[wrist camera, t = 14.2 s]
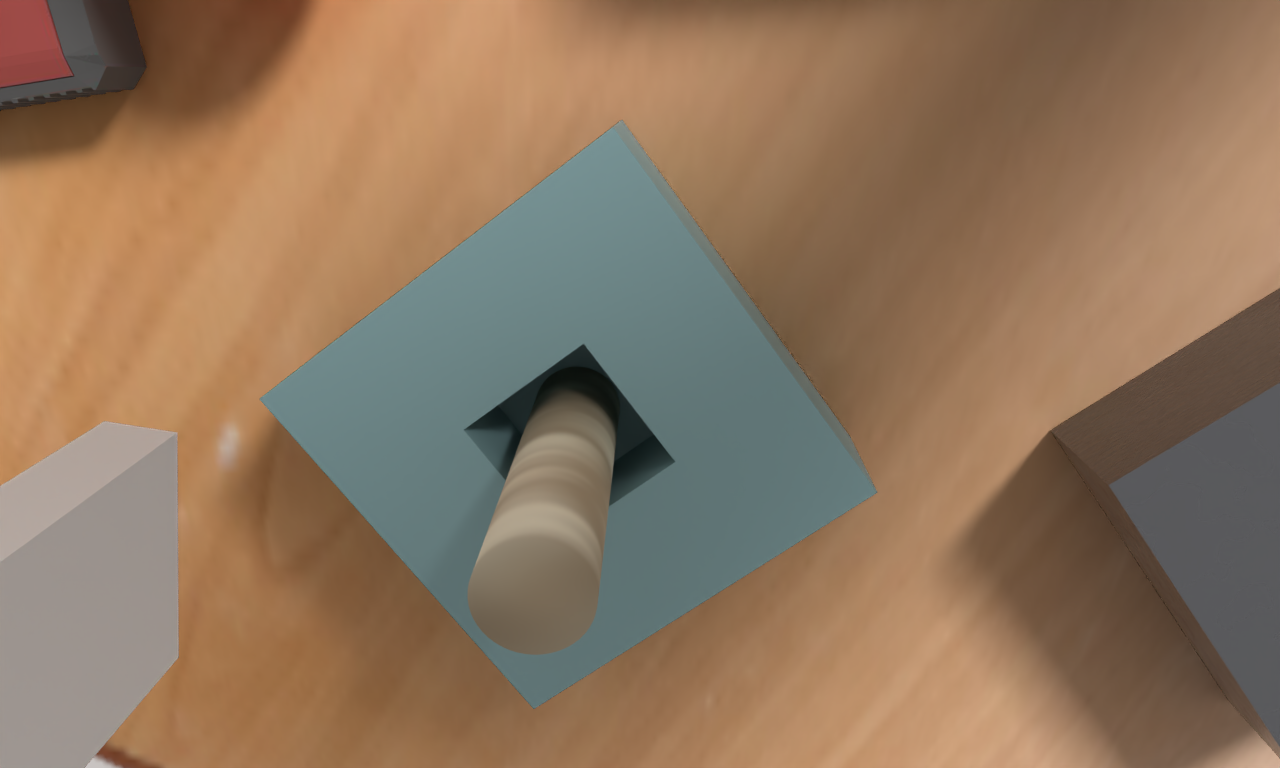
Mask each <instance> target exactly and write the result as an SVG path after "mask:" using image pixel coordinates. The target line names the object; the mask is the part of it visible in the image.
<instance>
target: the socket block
mask: <svg viewBox="0 0 1280 768" xmlns="http://www.w3.org/2000/svg"><path fill="white" fill-rule="evenodd" d="M568 367H585V368H589V369H592V370H595V371H597V372H599V373H600V374H602V375H603V376H605V377H606V378H607V379H608V380H609V381H610V382H611V384H612V385H613V386H614V388H615V390H616V392H617V394H618V397H619V402H620V413H619V422H618V431H617V439H616V448H615V457H614V465H613V474H612V483H611V492H610V500H609V509H608V518H607V526H606V535H605V544H604V553H603V561H602V570H601V579H600V587H599V596H598V605H597V610H596V615H595V617H594V620H593V622H592V624H591V626H590V628H589V629H588V630H587V632H586V633H585V634H584V635H583V636H582V637H581V638H580V639H579V640H578V641H576V642H575V643H574V644H572V645H570V646H569V647H567V648H565V649H562V650H560V651H557V652H553V653H549V654H541V655H531V654H523V653H518V652H514V651H511V650H508V649H506V648H504V647H502V646H500V645H498V644H496V643H495V642H493V641H492V640H491V639H489V638H488V637H487V636H486V635H485V634H484V633H483V632H482V631H481V630H480V628H479V627H478V626H477V624H476V622H475V621H474V619H473V617H472V615H471V612H470V609H469V605H468V585H469V581H470V578H471V575H472V572H473V569H474V567H475V564H476V561H477V558H478V556H479V553H480V550H481V547H482V545H483V542H484V539H485V536H486V534H487V531H488V528H489V525H490V523H491V520H492V517H493V514H494V512H495V509H496V506H497V503H498V501H499V498H500V495H501V492H502V490H503V487H504V484H505V482H506V479H507V476H508V473H509V471H510V468H511V465H512V462H513V460H514V457H515V454H516V451H517V449H518V446H519V443H520V440H521V438H522V435H523V432H524V429H525V427H526V424H527V421H528V418H529V416H530V413H531V410H532V407H533V405H534V402H535V399H536V396H537V394H538V391H539V389H540V387H541V385H542V384H543V382H544V381H545V380H546V379H547V378H548V377H549V376H550V375H552V374H553V373H555V372H557V371H559V370H561V369H564V368H568ZM260 400H261V401H262V403H263V404H264V405H265V406H266V407H267V408H268V409H269V411H270V412H271V413H272V414H273V415H274V416H275V417H276V418H277V420H278V421H279V422H280V423H281V424H282V425H283V426H284V427H285V429H286V430H287V431H288V432H289V433H290V434H291V435H292V437H293V438H294V439H295V440H296V441H297V442H298V443H299V444H300V446H301V447H302V448H303V449H304V450H305V451H306V452H307V453H308V455H309V456H310V457H311V458H312V459H313V460H314V461H315V463H316V464H317V465H318V466H319V467H320V468H321V469H322V470H323V472H324V473H325V474H326V475H327V476H328V477H329V478H330V479H331V481H332V482H333V483H334V484H335V485H336V486H337V487H338V488H339V490H340V491H341V492H342V493H343V494H344V495H345V496H346V498H347V499H348V500H349V501H350V502H351V503H352V504H353V505H354V507H355V508H356V509H357V510H358V511H359V512H360V513H361V514H362V516H363V517H364V518H365V519H366V520H367V521H368V522H369V524H370V525H371V526H372V527H373V528H374V529H375V530H376V531H377V533H378V534H379V535H380V536H381V537H382V538H383V539H384V540H385V542H386V543H387V544H388V545H389V546H390V547H391V548H392V549H393V551H394V552H395V553H396V554H397V555H398V556H399V557H400V559H401V560H402V561H403V562H404V563H405V564H406V565H407V566H408V568H409V569H410V570H411V571H412V572H413V573H414V574H415V575H416V577H417V578H418V579H419V580H420V581H421V582H422V583H423V585H424V586H425V587H426V588H427V589H428V590H429V591H430V592H431V594H432V595H433V596H434V597H435V598H436V599H437V600H438V601H439V603H440V604H441V605H442V606H443V607H444V608H445V609H446V611H447V612H448V613H449V614H450V615H451V616H452V617H453V618H454V620H455V621H456V622H457V623H458V624H459V625H460V626H461V627H462V629H463V630H464V631H465V632H466V633H467V634H468V635H469V636H470V638H471V639H472V640H473V641H474V642H475V643H476V644H477V646H478V647H479V648H480V649H481V650H482V651H483V652H484V653H485V655H486V656H487V657H488V658H489V659H490V660H491V661H492V662H493V664H494V665H495V666H496V667H497V668H498V669H499V670H500V672H501V673H502V674H503V675H504V676H505V677H506V678H507V679H508V681H509V682H510V683H511V684H512V685H513V686H514V687H515V688H516V690H517V691H518V692H519V693H520V694H521V695H522V696H523V697H524V699H525V700H526V701H527V702H528V703H529V704H530V705H531V707H532V708H533V709H535V708H536V707H538V706H540V705H541V704H543V703H544V702H546V701H547V700H549V699H551V698H552V697H554V696H555V695H557V694H559V693H560V692H562V691H563V690H565V689H567V688H568V687H570V686H571V685H573V684H574V683H576V682H578V681H579V680H581V679H582V678H584V677H586V676H587V675H589V674H590V673H592V672H593V671H595V670H597V669H598V668H600V667H601V666H603V665H605V664H606V663H608V662H609V661H611V660H613V659H614V658H616V657H617V656H619V655H620V654H622V653H624V652H625V651H627V650H628V649H630V648H632V647H633V646H635V645H636V644H638V643H639V642H641V641H643V640H644V639H646V638H647V637H649V636H651V635H652V634H654V633H655V632H657V631H659V630H660V629H662V628H663V627H665V626H666V625H668V624H670V623H671V622H673V621H674V620H676V619H678V618H679V617H681V616H682V615H684V614H685V613H687V612H689V611H690V610H692V609H693V608H695V607H697V606H698V605H700V604H701V603H703V602H705V601H706V600H708V599H709V598H711V597H712V596H714V595H716V594H717V593H719V592H720V591H722V590H724V589H725V588H727V587H728V586H730V585H731V584H733V583H735V582H736V581H738V580H739V579H741V578H743V577H744V576H746V575H747V574H749V573H751V572H752V571H754V570H755V569H757V568H758V567H760V566H762V565H763V564H765V563H766V562H768V561H770V560H771V559H773V558H774V557H776V556H777V555H779V554H781V553H782V552H784V551H785V550H787V549H789V548H790V547H792V546H793V545H795V544H797V543H798V542H800V541H801V540H803V539H804V538H806V537H808V536H809V535H811V534H812V533H814V532H816V531H817V530H819V529H820V528H822V527H823V526H825V525H827V524H828V523H830V522H831V521H833V520H835V519H836V518H838V517H839V516H841V515H843V514H844V513H846V512H847V511H849V510H850V509H852V508H854V507H855V506H857V505H858V504H860V503H862V502H863V501H865V500H866V499H868V498H869V497H871V496H873V495H874V494H876V493H877V491H876V489H875V486H874V484H873V482H872V480H871V478H870V476H869V474H868V472H867V470H866V468H865V466H864V464H863V462H862V460H861V458H860V456H859V454H858V452H857V450H856V448H855V446H854V444H853V441H852V439H851V437H850V436H849V435H848V433H847V432H846V430H845V429H844V428H843V426H842V425H841V423H840V422H839V421H838V419H837V418H836V417H835V415H834V414H833V412H832V411H831V410H830V408H829V407H828V405H827V404H826V403H825V401H824V400H823V398H822V397H821V396H820V394H819V393H818V391H817V390H816V389H815V387H814V386H813V385H812V383H811V382H810V380H809V379H808V378H807V376H806V375H805V373H804V372H803V371H802V369H801V368H800V366H799V365H798V364H797V362H796V361H795V360H794V358H793V357H792V355H791V354H790V353H789V351H788V350H787V348H786V347H785V346H784V344H783V343H782V341H781V340H780V339H779V337H778V336H777V335H776V333H775V332H774V330H773V329H772V328H771V326H770V325H769V323H768V322H767V321H766V319H765V318H764V316H763V315H762V314H761V312H760V311H759V309H758V308H757V307H756V305H755V304H754V303H753V301H752V300H751V298H750V297H749V296H748V294H747V293H746V291H745V290H744V289H743V287H742V286H741V284H740V283H739V282H738V280H737V279H736V278H735V276H734V275H733V273H732V272H731V271H730V269H729V268H728V266H727V265H726V264H725V262H724V261H723V259H722V258H721V257H720V255H719V254H718V253H717V251H716V250H715V248H714V247H713V246H712V244H711V243H710V241H709V240H708V239H707V237H706V236H705V234H704V233H703V232H702V230H701V229H700V228H699V226H698V225H697V223H696V222H695V221H694V219H693V218H692V216H691V215H690V214H689V212H688V211H687V209H686V208H685V207H684V205H683V204H682V202H681V201H680V200H679V198H678V197H677V196H676V194H675V193H674V191H673V190H672V189H671V187H670V186H669V184H668V183H667V182H666V180H665V179H664V177H663V176H662V175H661V173H660V172H659V171H658V169H657V168H656V166H655V165H654V164H653V162H652V161H651V159H650V158H649V157H648V155H647V154H646V152H645V151H644V150H643V148H642V147H641V146H640V144H639V143H638V141H637V140H636V139H635V137H634V136H633V134H632V133H631V132H630V130H629V129H628V127H627V126H626V125H625V123H624V122H623V120H621V121H620V122H618V123H617V124H616V125H614V126H613V127H612V128H610V129H609V130H608V131H607V132H605V133H604V134H603V135H601V136H600V137H599V138H597V139H596V140H595V141H594V142H592V143H591V144H590V145H588V146H587V147H586V148H584V149H583V150H582V151H581V152H579V153H578V154H577V155H575V156H574V157H573V158H571V159H570V160H569V161H568V162H566V163H565V164H564V165H562V166H561V167H560V168H558V169H557V170H556V171H555V172H553V173H552V174H551V175H549V176H548V177H547V178H545V179H544V180H543V181H542V182H540V183H539V184H538V185H536V186H535V187H534V188H532V189H531V190H530V191H529V192H527V193H526V194H525V195H523V196H522V197H521V198H519V199H518V200H517V201H516V202H514V203H513V204H512V205H510V206H509V207H508V208H506V209H505V210H504V211H503V212H501V213H500V214H499V215H497V216H496V217H495V218H493V219H492V220H491V221H490V222H488V223H487V224H486V225H484V226H483V227H482V228H480V229H479V230H478V231H477V232H475V233H474V234H473V235H471V236H470V237H469V238H467V239H466V240H465V241H464V242H462V243H461V244H460V245H458V246H457V247H456V248H454V249H453V250H452V251H451V252H449V253H448V254H447V255H445V256H444V257H443V258H441V259H440V260H439V261H438V262H436V263H435V264H434V265H432V266H431V267H430V268H428V269H427V270H426V271H425V272H423V273H422V274H421V275H419V276H418V277H417V278H415V279H414V280H413V281H412V282H410V283H409V284H408V285H406V286H405V287H404V288H402V289H401V290H400V291H399V292H397V293H396V294H395V295H393V296H392V297H391V298H389V299H388V300H387V301H386V302H384V303H383V304H382V305H380V306H379V307H378V308H376V309H375V310H374V311H373V312H371V313H370V314H369V315H367V316H366V317H365V318H363V319H362V320H361V321H360V322H358V323H357V324H356V325H354V326H353V327H352V328H350V329H349V330H348V331H347V332H345V333H344V334H343V335H341V336H340V337H339V338H337V339H336V340H335V341H334V342H332V343H331V344H330V345H328V346H327V347H326V348H324V349H323V350H322V351H321V352H319V353H318V354H317V355H315V356H314V357H313V358H311V359H310V360H309V361H308V362H306V363H305V364H304V365H302V366H301V367H300V368H299V369H297V370H296V371H295V372H293V373H292V374H291V375H290V376H288V377H287V378H286V379H284V380H283V381H282V382H281V383H279V384H278V385H277V386H275V387H274V388H273V389H272V390H270V391H269V392H268V393H266V394H265V395H264V396H263V397H261V398H260Z"/></svg>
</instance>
